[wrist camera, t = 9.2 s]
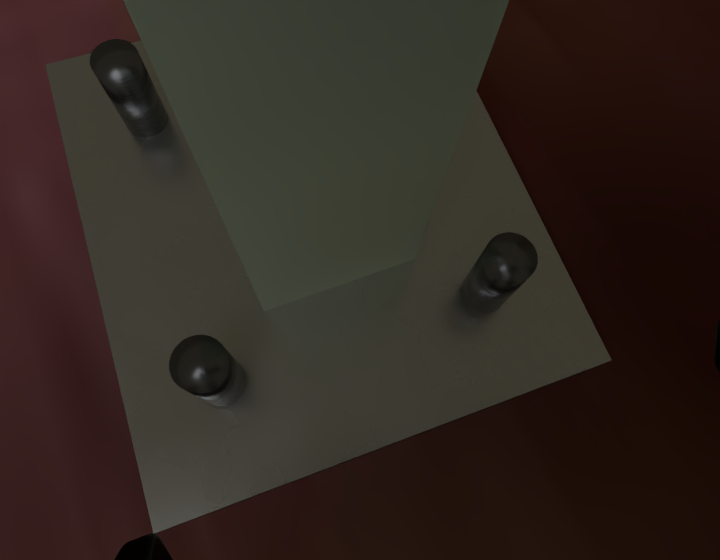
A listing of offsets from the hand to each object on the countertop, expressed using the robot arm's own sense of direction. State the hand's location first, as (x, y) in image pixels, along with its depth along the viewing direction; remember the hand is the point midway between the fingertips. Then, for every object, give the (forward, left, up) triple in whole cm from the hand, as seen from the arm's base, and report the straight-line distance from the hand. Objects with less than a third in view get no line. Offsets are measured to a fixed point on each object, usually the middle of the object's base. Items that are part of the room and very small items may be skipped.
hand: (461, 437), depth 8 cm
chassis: (+8, -1, -9) cm, 13 cm away
